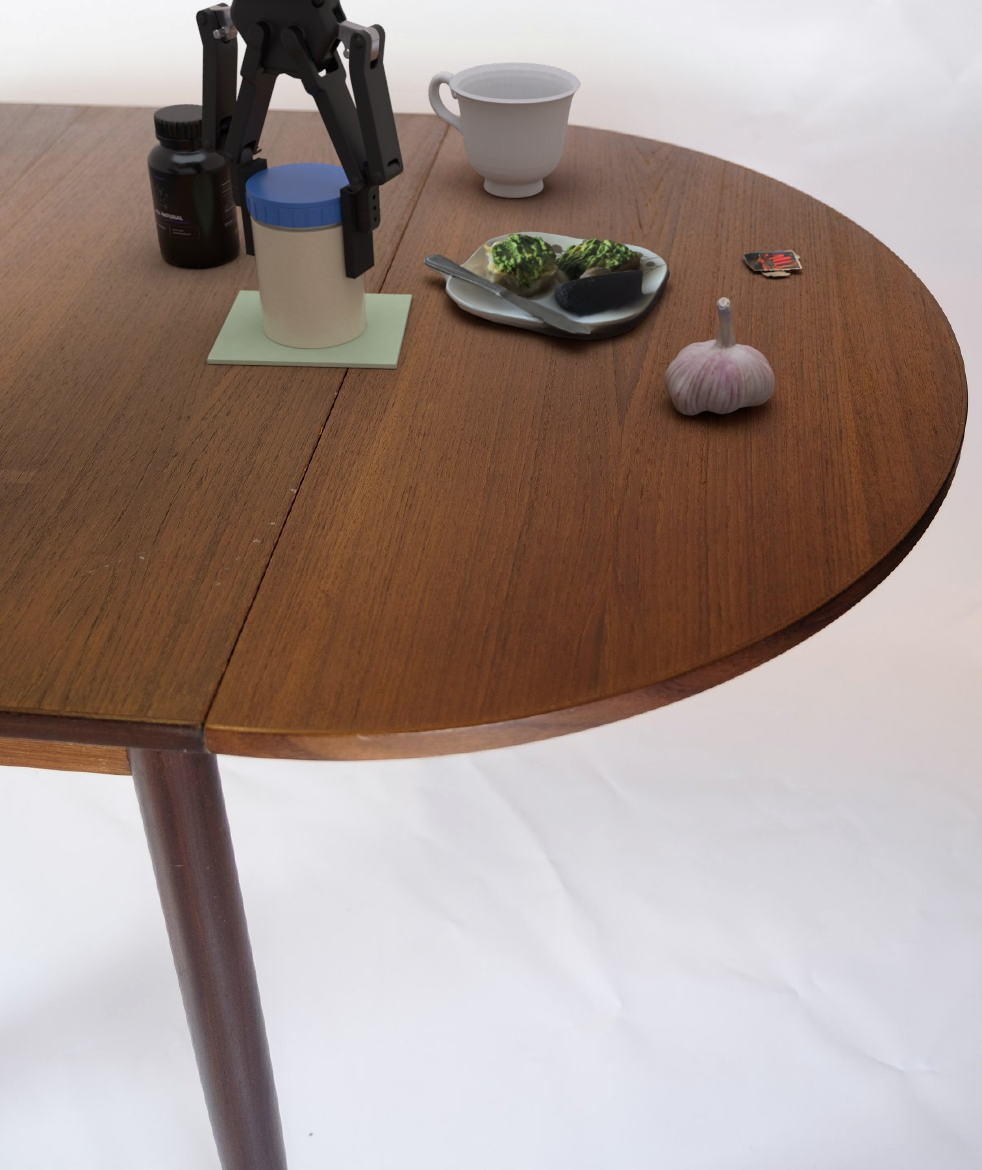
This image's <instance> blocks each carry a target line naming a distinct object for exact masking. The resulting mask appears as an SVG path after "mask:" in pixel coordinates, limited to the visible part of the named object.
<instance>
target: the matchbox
mask: <svg viewBox="0 0 982 1170" xmlns="http://www.w3.org/2000/svg"><path fill="white" fill-rule="evenodd" d="M742 256H743V259H744V261H745V263H746V264H747V267H749V268H751V269H752V270H753V271H760V272H761V274H762V275H763V276H765V277H771V276H772V278H775V277H784V276H786V277H788V276H790V275H791V273H790V272H791V271H790V270H802V269H803V266H802V265H801V261H799V259H800V258H801V256H800V255H798V254H797V253H796V252H794V250H791V249H786V250H780V249H778V250H769V251H768V250H767V251H766V250H765V251H764V250H763V251H762V250H758V251H754V252H749V253H743V254H742ZM768 271H770V272H768ZM787 271H788V272H787Z"/></svg>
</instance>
